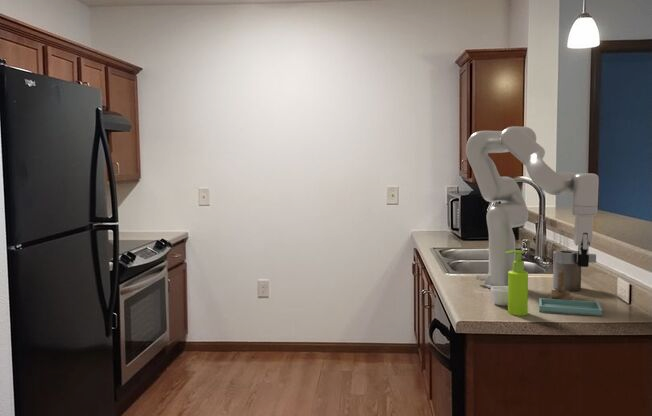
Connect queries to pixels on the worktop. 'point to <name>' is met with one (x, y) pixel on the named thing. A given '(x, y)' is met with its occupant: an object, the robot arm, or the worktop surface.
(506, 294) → the teacup
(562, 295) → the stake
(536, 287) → the worktop surface
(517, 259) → the soap dispenser
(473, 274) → the worktop surface
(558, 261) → the wrench
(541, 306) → the tray
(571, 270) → the pillar candle
